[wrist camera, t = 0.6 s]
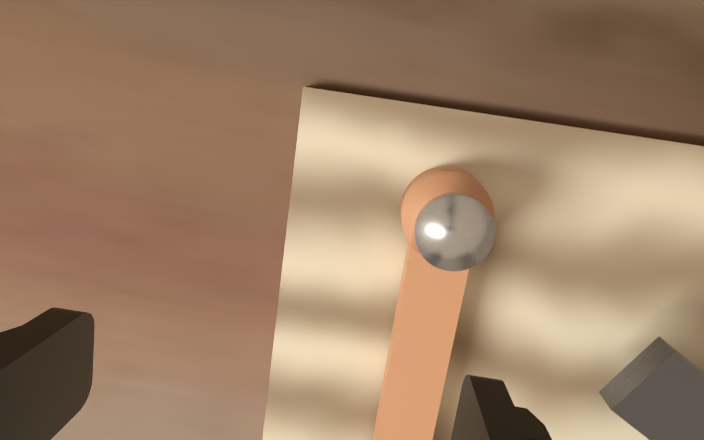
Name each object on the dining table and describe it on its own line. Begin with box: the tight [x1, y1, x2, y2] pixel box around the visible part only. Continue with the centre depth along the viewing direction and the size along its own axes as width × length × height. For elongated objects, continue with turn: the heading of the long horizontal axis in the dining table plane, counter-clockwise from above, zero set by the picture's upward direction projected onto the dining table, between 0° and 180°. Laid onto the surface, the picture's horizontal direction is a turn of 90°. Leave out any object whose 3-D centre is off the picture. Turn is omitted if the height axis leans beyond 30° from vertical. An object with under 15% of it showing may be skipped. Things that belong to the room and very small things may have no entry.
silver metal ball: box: [414, 192, 495, 271], centre depth 24 cm, size 3×3×3 cm
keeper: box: [599, 336, 704, 440], centre depth 27 cm, size 8×4×4 cm, turn 52°
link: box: [372, 166, 494, 440], centre depth 28 cm, size 18×4×2 cm, turn 172°
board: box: [262, 87, 704, 440], centre depth 30 cm, size 26×28×1 cm
